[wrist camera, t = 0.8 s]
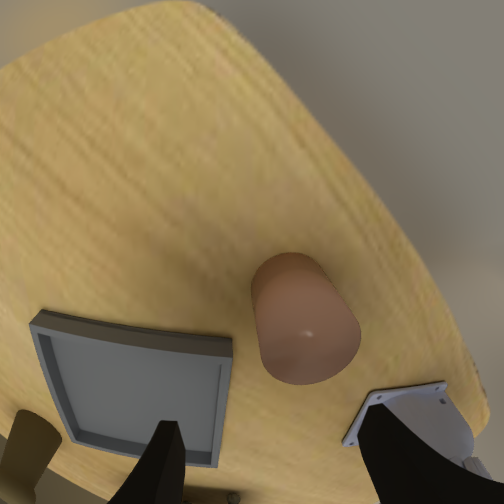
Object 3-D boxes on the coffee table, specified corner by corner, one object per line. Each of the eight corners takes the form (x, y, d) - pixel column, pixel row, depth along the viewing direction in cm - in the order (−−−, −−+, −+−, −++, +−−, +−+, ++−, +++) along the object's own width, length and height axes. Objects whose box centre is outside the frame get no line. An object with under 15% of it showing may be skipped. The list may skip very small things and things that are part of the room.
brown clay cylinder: (332, 256, 18) (373, 305, 12) (315, 321, 20) (343, 383, 14) (256, 248, 17) (270, 299, 12) (246, 317, 19) (253, 383, 13)
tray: (232, 338, 19) (232, 357, 18) (217, 451, 24) (217, 468, 22) (41, 309, 18) (28, 323, 16) (77, 427, 22) (72, 442, 20)
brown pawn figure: (8, 404, 21) (-30, 475, 11) (49, 416, 22) (13, 499, 12) (30, 437, 23) (2, 504, 13) (70, 449, 24) (45, 524, 14)
